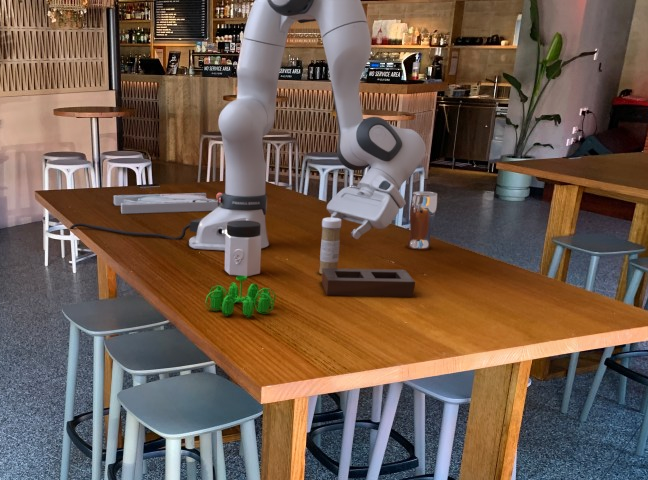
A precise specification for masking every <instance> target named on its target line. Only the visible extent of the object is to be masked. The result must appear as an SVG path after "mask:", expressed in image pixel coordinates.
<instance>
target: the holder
mask: <svg viewBox="0 0 648 480" xmlns="http://www.w3.org/2000/svg"><path fill="white" fill-rule="evenodd" d="M321 285H322V287H323V289H324V292H325V294H326V297H327V296H328V297H329V296H331V297H333V296H334V297H381V298H382V297H384V298H387V297H388V298H391V297H392V298H414V296H415V287H416V281H415V280H414V279H413V278H412V276H411V275H410V274H409V273H408V272H407V271H406V270H405V269H387V268H383V269H382V268H381V269H380V268H378V269H377V268H337V269H330V268H323V269H322V274H321Z"/></svg>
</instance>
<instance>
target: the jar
mask: <svg viewBox="0 0 648 480" xmlns="http://www.w3.org/2000/svg"><path fill="white" fill-rule="evenodd" d="M260 229H261V224H260V223H258V222H255V221H246V220H238V221H231V222H228V223H227V233H226V234H225V251H224V272H226V273H227V274H228V275H229V276H235V277H236V276H246V277H247V278H248V277H251V276H256V275H259V274H261V263H262V262H261V259H262V248H261V239H262V236H261V235H260Z"/></svg>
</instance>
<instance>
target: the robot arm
mask: <svg viewBox="0 0 648 480" xmlns="http://www.w3.org/2000/svg"><path fill="white" fill-rule="evenodd" d="M296 22H298V23H299V24H304V23H310V22H316V23H317V26H318V28H319V33H320V37H321V41H322V42H321V43H322V45H323V49H324V54H325V58H326V63H327V67H328V72H329V78H330V83H331V85H330V86H331V91H332V98H333V103H334V110H335V117H336V121H337V128H338V137H337V143H336V155H337V158H338V160H339V162H340V164H341V165H343V166H344V167H345V168H347V169H349V170H351V171H362V170H365V169H367V168H368V167H370V168H369V170H368V171H367V172H366V173H365V174H364V175H363V176H362V178H361V179H360V180H359V182H358V183H357V185H356V184H351V185H349V186H346V187H345V186H344V187H343V188H341V189H340V191H338V192H337V193H336V194H335V195H334V196H333V197H332V198H331V199H330V201H329V202H328V203H327V205H326V211H327V212H328V213H329V215H330V218H339V219H341V220H344V221H347V222H352V223H355V224H359V226H358V227H357V228H353V229H352V231H351V232H350V233H349V234H350V237H351V239H355V240H359V239H360V237H361V236H362V235H364V234H365V233H368V232H369V231H371V229H372V228H374V229H378V230H384V229H386V228H388V226H389V225H390V224H391V223H392V222H393V221H394V219H395V218H396V217H397V215H398V214H399V212H400V209H403V208H404V207H405V205H406V203H407V202H406V200H405V198H404V197H403V195H402V194H401V192H400V189H401V187H402V185H403V184H404V183H405V182H407V180H409V179H410V178H411V176H412V175H413V174H414V173H415V171H416V170H417V169H418V167H419V166H420V164H421V163H422V161H423V159H424V157H425V155H426V153H427V152H426V149H427V147H426V143H425V141H424V139H423V137H422V136H421V135H420V134H419V133H418V132H417V131H416V130H415V129H411V128H402V127H398V126H395V125H393V124H391V123H389V122H388V121H387V120H386V119H384V118H383V117H380V116H370V117H366V118H364V115H363V111H362V109H363V108H362V104H361V100H360V99H361V98H360V85H361V84H360V83H361V78H362V76H363V73H364V70H365V68H366V66H367V64H368V62H369V59H370V57H371V55H372V39H371V31H370V27H369V23H368V19H367V15H366V12H365V9H364V7H363V3H362V1H361V0H254V1H253V4H252V6H251V8H250V11H249V13H248V17H247V20H246V23H245V26H244V31H243V36H242V41H241V45H240V49H239V50H240V51H239V55H238V61H237V66H236V75H237V88H236V89H237V90H236V99H234V100H232V101H230V102H228V103H227V104H226V105H225V106H224V107H223V109H222V110H221V111H220V114H219V116H218V125H217V126H218V129H219V132H220V134H221V140H222V148H223V155H224V161H225V162H224V163H225V178H224V179H225V180H224V181H225V182H224V184H225V185H224V186H225V187H224V193H222V192H218V193H217V194H216V200H218V206H219V207H217V208H216V209H215V210H213V211H210V212H209V213H208V214H206V215H205V216H204V217H203V218H197V219H193V220H190V221H189V224H187V225H185V226H184V227H183V228H182V231H181V234H180V235H178V236H177V237H176V236H170V235H169V236H168V235H165V234H163V233H162V234H161V233H149V232H135V231H126V230H120V229H116V228H110V227H105V226H102V225H101V226H99V225H92V224H88V223H84V222H77V223H74V224H72V225H71V226H69V230H73V229H74V228H77V227H84V228H89V229H92V230H93V229H95V230H101V231H105V232H111V233H115V234H120V235H127V236H137V237H154V238H161V239H167V240H182V239H183V238H185V236H186V231H187V230H188V229H189V232H193V233H196V235H194V236H192V237H190V238H189V239H188V247H190V248H192V249H195V250H206V251H207V250H208V251H209V250H211V251H224V252H225V234H226V233H227V223H228V222H231V221H238V220H246V221H255V222H258V223H260V224H261V229H260V235H261V236H262V239H261V249H265V248H267V247H268V246H270V243H269V238H268V233H267V225H266V215H267V209H268V197H267V193H266V187H267V185H266V184H267V183H266V182H267V162H266V158H265V154H264V153H265V152H264V151H265V150H264V143H263V142H264V141H263V137H265V136H266V135H268V133H269V132H270V131H271V130H272V128H273V126H274V124H275V120H276V114H275V113H276V105H277V96H278V95H277V94H278V85H279V84H278V83H279V76H280V71H281V67H282V62H283V58H284V54H285V48H286V46H287V45H286V44H287V39H288V35H289V31H290V28H291V27H292V26H293V24H294V23H296Z"/></svg>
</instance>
